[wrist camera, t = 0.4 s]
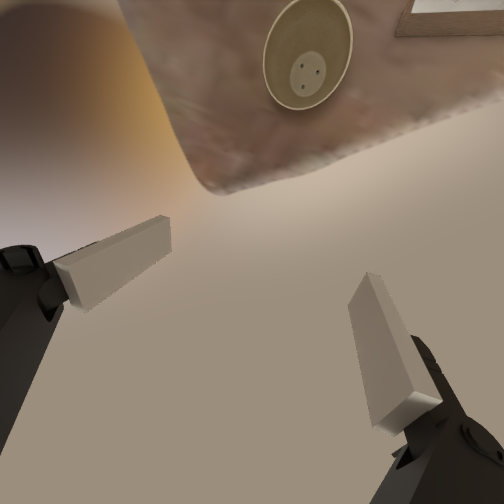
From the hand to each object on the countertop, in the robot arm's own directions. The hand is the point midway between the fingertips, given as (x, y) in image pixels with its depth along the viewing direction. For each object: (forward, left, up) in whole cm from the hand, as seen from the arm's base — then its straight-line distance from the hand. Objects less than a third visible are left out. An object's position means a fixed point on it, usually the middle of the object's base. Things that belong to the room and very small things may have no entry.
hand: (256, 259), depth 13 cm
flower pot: (-16, -1, -27) cm, 32 cm away
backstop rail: (-21, +16, -27) cm, 38 cm away
